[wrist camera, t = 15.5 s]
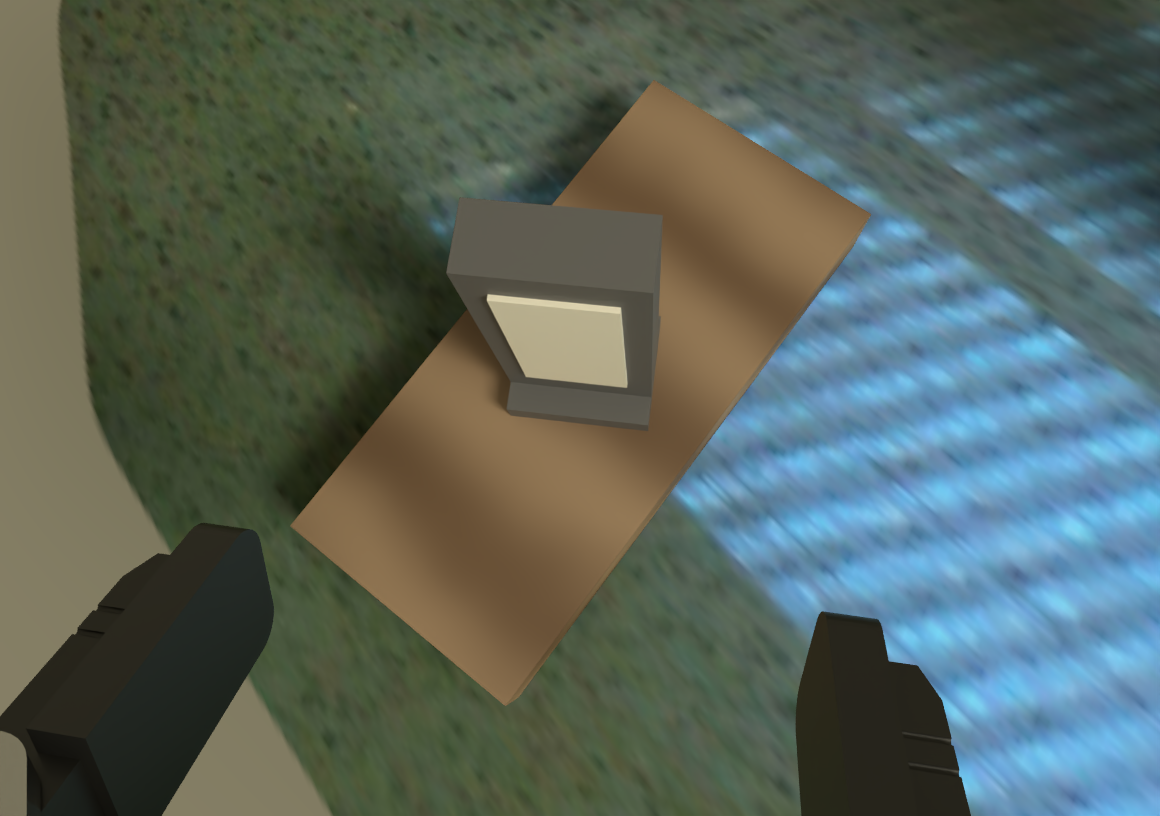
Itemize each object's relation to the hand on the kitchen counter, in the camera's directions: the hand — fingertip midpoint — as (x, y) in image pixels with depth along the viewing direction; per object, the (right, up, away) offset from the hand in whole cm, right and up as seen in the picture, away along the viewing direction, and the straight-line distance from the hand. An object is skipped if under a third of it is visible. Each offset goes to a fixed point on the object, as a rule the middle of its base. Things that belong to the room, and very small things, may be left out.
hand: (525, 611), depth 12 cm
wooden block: (+1, +4, +22) cm, 22 cm away
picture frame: (+1, +4, +19) cm, 19 cm away
